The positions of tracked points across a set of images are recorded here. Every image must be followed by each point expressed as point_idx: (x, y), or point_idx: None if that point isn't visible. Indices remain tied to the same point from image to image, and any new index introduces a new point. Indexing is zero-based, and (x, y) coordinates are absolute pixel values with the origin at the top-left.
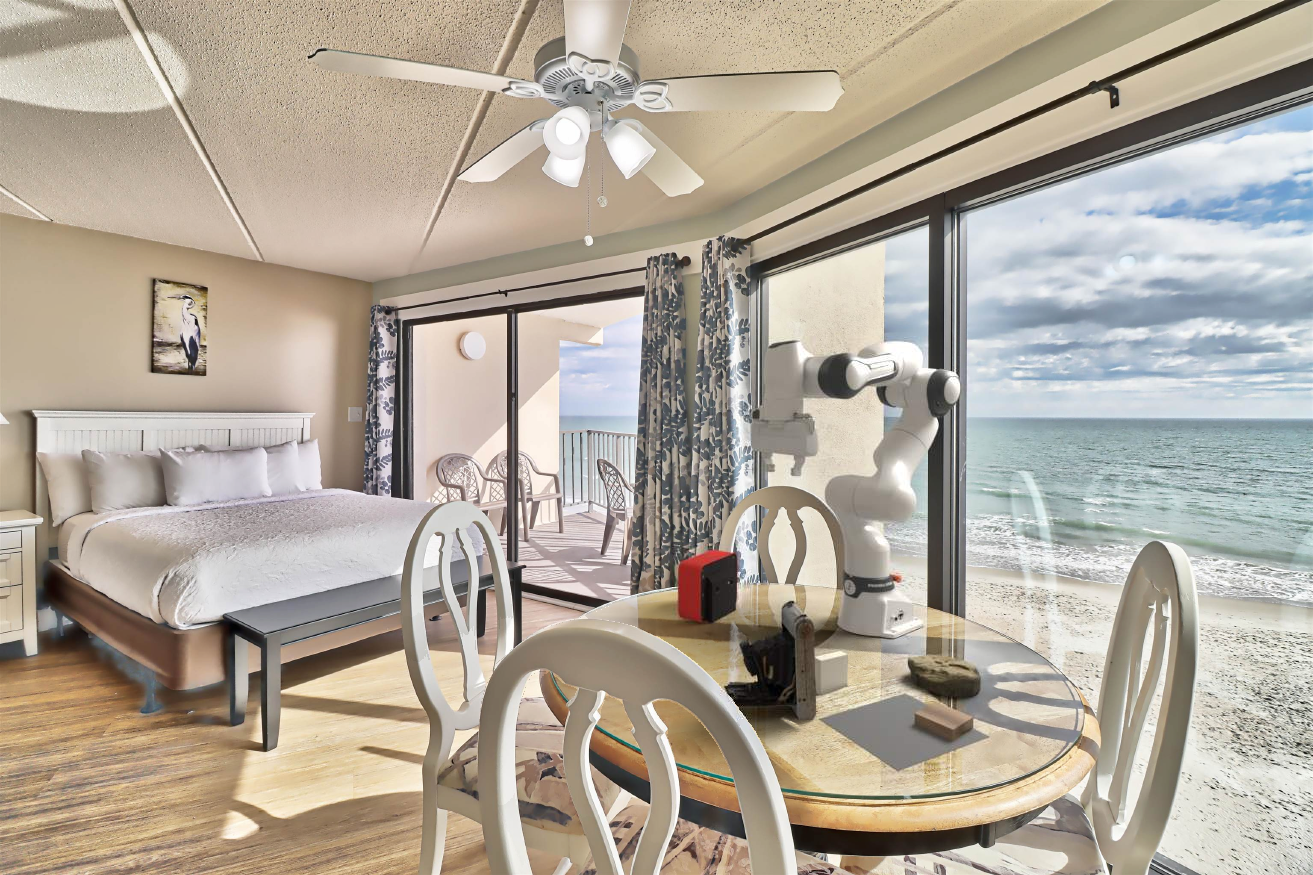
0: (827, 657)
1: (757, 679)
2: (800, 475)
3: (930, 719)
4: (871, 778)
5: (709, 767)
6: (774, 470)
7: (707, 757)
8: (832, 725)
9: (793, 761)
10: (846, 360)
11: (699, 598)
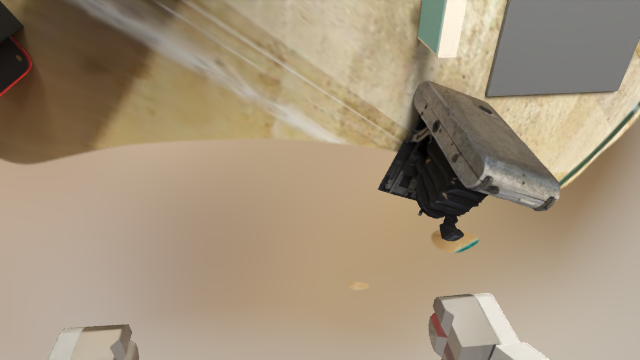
0: (454, 35)
1: (416, 163)
2: (489, 295)
3: None
4: (594, 119)
5: (468, 239)
6: (124, 330)
7: None
8: (509, 91)
9: None
10: None
11: (6, 90)
